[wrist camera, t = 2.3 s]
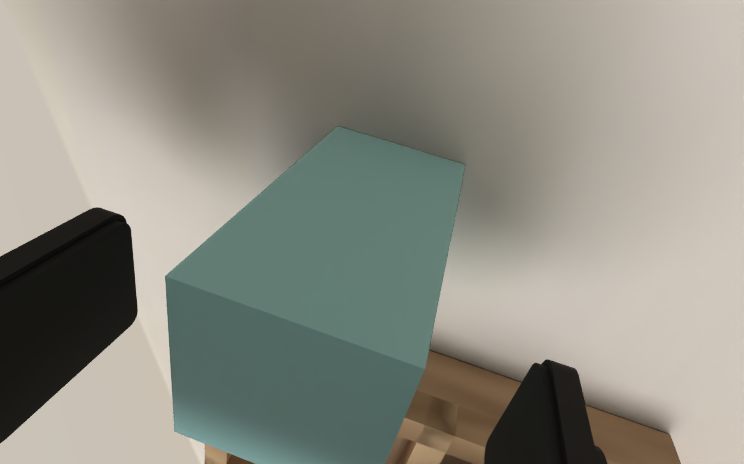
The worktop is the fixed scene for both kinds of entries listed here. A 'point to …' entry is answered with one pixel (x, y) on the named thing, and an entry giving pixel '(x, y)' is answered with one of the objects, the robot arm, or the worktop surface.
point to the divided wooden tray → (487, 422)
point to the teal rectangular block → (315, 306)
